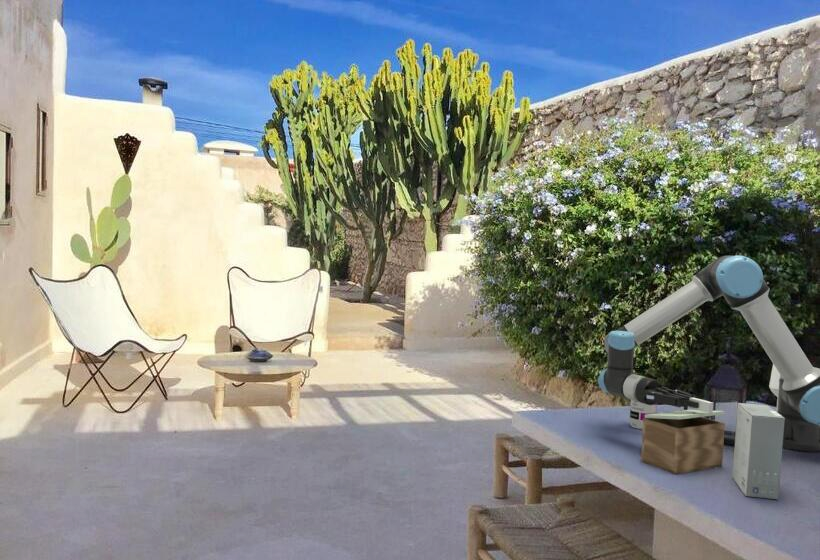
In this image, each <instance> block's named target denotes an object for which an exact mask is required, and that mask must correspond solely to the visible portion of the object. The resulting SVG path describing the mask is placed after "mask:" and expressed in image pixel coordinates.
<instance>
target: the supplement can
mask: <svg viewBox="0 0 820 560" xmlns="http://www.w3.org/2000/svg"><path fill="white" fill-rule="evenodd" d="M629 405H630V406H629V407H630V408H629V425H630V426H631V427H632V428H634V429H637V430H642V431H643V418H645V415H647V414H656V413H658V412H657V410H658V403H656V404H654V405H647V404H644V403H640V402H636V403H634V402H633V400H630V404H629Z"/></svg>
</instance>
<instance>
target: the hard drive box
mask: <svg viewBox="0 0 820 560" xmlns="http://www.w3.org/2000/svg"><path fill="white" fill-rule="evenodd" d="M736 409H737V410H736V421H735V422H736V423H735V437H734V451H733V462H732V463H733V464H732V479H733V480H734V482H735V483H736V484H737V485H738V487H739V488H740V490H741V492H742V493H743V494H744V496H745V497H746V496H747V497H755V498H761V499H772V500H779V498H780V497H779V496H780V485H781V473H782V472H781V471H782V461H783V459H782V458H783V447H782V446H783V433H784V421H785V418H784V417H783V416H781V415H780V414H779V413H777V412H776V411H777V410H775V409H773V408H771V407H770V406H769V405H766V404H757V403H756V404H755V403H754V404H753V403H744V402H742V403H741V402H738V403H737V408H736Z"/></svg>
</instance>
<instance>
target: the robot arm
mask: <svg viewBox="0 0 820 560" xmlns="http://www.w3.org/2000/svg"><path fill="white" fill-rule="evenodd" d="M769 292H770V287H769V286H768V284H767V283H766V281H765V279H764V274H763V271H762V269H761V267H760V265H759V263H757V262H756V261H754V260H753V259H752V258H749V257H747V256H744V255H733V254H732V255H722V256H720V257H718V258H716V259H714V260H713V261H711V262H710V263H708V265H707V266H705V267H704V268H702V269H701V270H699V271H698V272H697V273H695V274H694V275H693V276H692V280H691V281H689V282H688V283H686V284H685V285H684V286H682V287H680V288H679V289H678V290H676V291H674V292H673V293H671V294H670V295H668V296H666V297H665V298H664V299H662V300H660V301H659V302H658V303H656V304H655V305H653V306H651V307H650V308H649V309H647V310H645V311H644V312H643V313H641V314H639V315H638V316H636V317H635V318H634V319H632V320H630V321H629V322H628V323H625V324H624V325H623V326H622V327H619V328H618V329H616V330H612V331H610V332H609V333H608V334H607V335H606V336H605V338H604V340H603V341H604V342H603V347H604V350H605V352H606V353H607V362H606V363H607V364H606V368H604V369H602V370H601V372H600V375H599V376H598V378H597V379H598V380H597V383H598V387H599V389H600V390H602V391H603V392H605V393H607V394H610V395H612V396H615V397H620V398H624V399H628V400H630V401H631V400H633V402H634V403H636V402H640V403H644V404H647V405H654V404H656V403H657V404H662V405H666V406H671V407H675V408H682V407H683V410H689V409H691V410H699V411H702V412H706V413H713V411H714V402H711V401H709V400H705V399H701V398H698V396H697V395H696V394H691V393H688V392H685V391H684V390H681V389H679V388H677V389H674V390H673V389H670V388H669V387H666V386H662V384H661V382H660V381H659V380H657V379H656V378H655V379H654V378H650V377H646V376H643V375H638V374H635V373H633V371H634V367H633V366H634V356H635V355H634V352H635V349H636V347H638V346H639V345H640V344H643V343H644V342H646V341H647V340H648V339H650V338H652V337H653V336H655V335H657V334H658V333H659V332H661V331H663V330H665V328H668V326H670V325H672V324H673V323H675V322H676V321H678V320H680V319H681V318H682V317H684V316H686V315H688V314H689V313H690V312H693V310H695V309H696V308H698V307H700V306H702V305H703V304H704V303H705V302H714V301H715V300H716V299H718V298H720V297H722V296H723V297H724V299H725V300H726V302H727V304H728V305H729V306H730V309H732V310H735V311H739V312H740V314H741V315H742V317H743V318H744V320H745V321H746V323H747V324H748V326H749V328H750V329H751V331H752V332H753V334H754V335H755V338H756V339H757V340H758V342H759V344H760V345H761V346H762V348H763V349H764V351H765V353H766V355H767V356H768V357H769V359H770V360H771V362H772V365H773V364H774V366H775V367H776V369H777V370H778V372H779V373H780V379H779V394H778V409H777V408H776V411H777V413H779V414H780V415H781V416H783V417H784V418H785V421H784V433H783V446H782V449H783V448H784V449H788V450H792V449H793V450H794V451H799V450H800V452H820V368H818V367H814V366H813V365H812V363H811V362H810V360H809V359H808V357H807V355H806V354H805V352H804V351H803V350H802V348H801V346H800V345H799V343H798V341H797V339H796V338H795V337H794V335H793V333H792V332H791V330H790V329H789V327H788V326H787V324H786V322H784V319H783V318H782V316H781V314H780V313H779V312H778V310H777V309H776V307H775V305H774V304H773V302H772V301H771V299H770V298H769ZM793 450H792V451H793Z"/></svg>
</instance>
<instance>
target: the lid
mask: <svg viewBox="0 0 820 560" xmlns="http://www.w3.org/2000/svg"><path fill="white" fill-rule="evenodd" d="M720 415H726V411H725V410H713V413H706V412H702V411H699V410H695V409H688V410H684V409H683V410H675V411H667V412H657V413H656V414H647V415H645V418H661V419H688V418H696V417H704V418H705V417H712V416H720Z"/></svg>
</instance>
